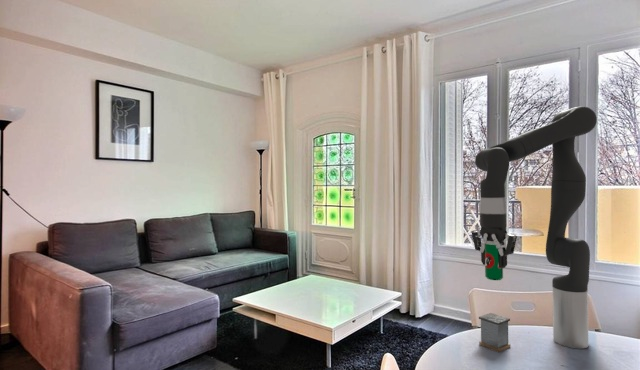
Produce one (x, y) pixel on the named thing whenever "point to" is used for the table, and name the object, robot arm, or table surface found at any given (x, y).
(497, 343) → the service unit
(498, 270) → the soda can
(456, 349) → the table surface
